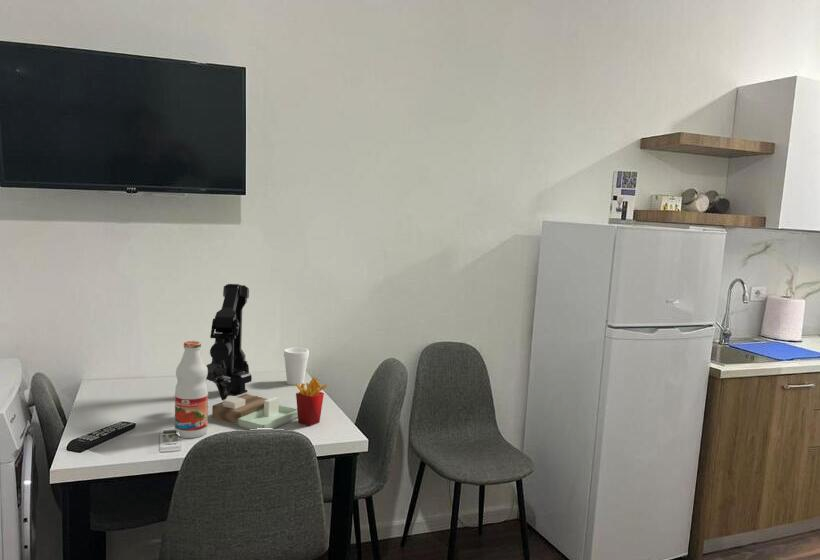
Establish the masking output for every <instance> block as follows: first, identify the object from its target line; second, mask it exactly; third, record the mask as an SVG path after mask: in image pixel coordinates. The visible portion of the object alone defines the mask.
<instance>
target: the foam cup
mask: <svg viewBox="0 0 820 560" xmlns="http://www.w3.org/2000/svg"><path fill="white" fill-rule="evenodd" d="M309 354H310V350H309V349H308V348H305V347H288V348H285V349H284V350H283V357H284V364H285V365H284V367H285V374H286V375H285V377H286V383H287V385H290V386H296V384H297V383H298V384H299V385H300V386H301V384H302V383H303V384H305V377H306V370H307V365H308V360H309V356H310V355H309Z"/></svg>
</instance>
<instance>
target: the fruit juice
mask: <svg viewBox="0 0 820 560" xmlns="http://www.w3.org/2000/svg"><path fill="white" fill-rule="evenodd" d="M201 348H202V342H201V341H198V340H190V341H184V343H183V349H184V351H183V354H182V358H181V360H180V361H179V364H178V365H177V367H176V370H175V376H176V381H177V383H176V385H175V390H174V391H175V392H174V432H175V431H178V432H179V434H180V436H181V437H180V438H183V439H195V438H200V437H203V436H205V435H206V434H207V432H208V427H209V425H208V424H209V422H208V419H209V417H208V414H209V413H208V412H209V386H208V385H209V384H208V382H207V380H206V378H207V375H208V368H207V366H206V365H207V364H206V363H205V361H204V358H203V356H202V354H201V353H202V351H201Z"/></svg>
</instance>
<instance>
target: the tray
mask: <svg viewBox="0 0 820 560" xmlns="http://www.w3.org/2000/svg"><path fill="white" fill-rule="evenodd" d="M295 420H298V412H297V407H293V406H290V405H289V406H288V405H284V404H280V403H279V408H278V413H276V414H274V415H271V416H269V417H268V416H264V409H261V410H258V411H256V412H253V413H251V414H248V415H246V416H243V417H241V418H238V424H237V427H238V426H239V427H240V428H243V429H246V430H250V429H257V428H275V429H277V428H279V427H281V425H282V426H283V424H284V425H286V424H288V422H289V423H290V422H292V421H295ZM239 427H238V428H239ZM276 427H277V428H276Z"/></svg>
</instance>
